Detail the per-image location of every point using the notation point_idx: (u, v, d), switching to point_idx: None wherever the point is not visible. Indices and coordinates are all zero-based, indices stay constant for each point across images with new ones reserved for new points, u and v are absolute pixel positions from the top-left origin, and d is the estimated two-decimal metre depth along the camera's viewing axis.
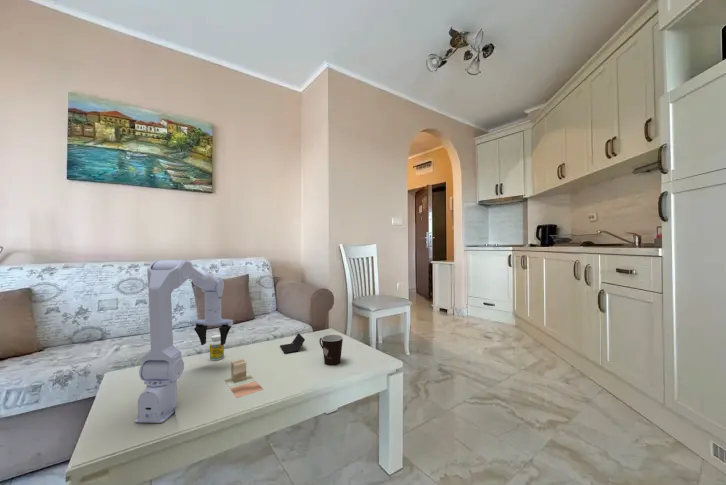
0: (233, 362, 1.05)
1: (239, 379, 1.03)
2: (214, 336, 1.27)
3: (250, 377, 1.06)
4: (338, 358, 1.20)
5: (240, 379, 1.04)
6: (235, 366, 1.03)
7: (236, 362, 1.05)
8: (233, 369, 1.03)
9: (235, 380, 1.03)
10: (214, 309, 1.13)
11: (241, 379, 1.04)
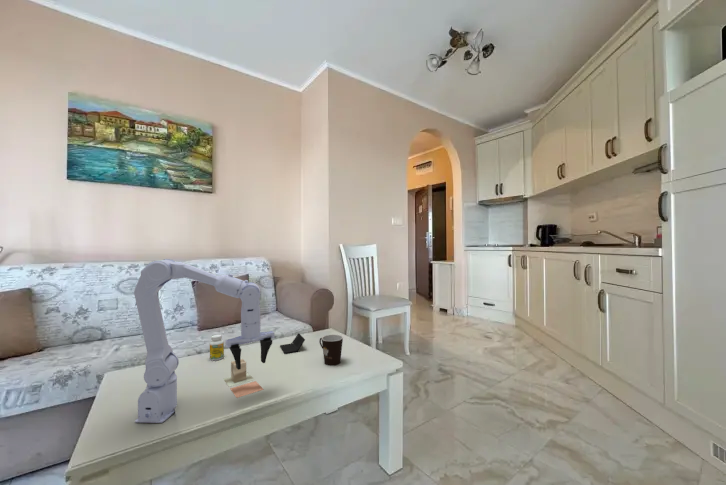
0: (233, 362, 1.05)
1: (239, 379, 1.03)
2: (214, 336, 1.27)
3: (250, 377, 1.06)
4: (338, 358, 1.20)
5: (240, 379, 1.04)
6: (235, 366, 1.03)
7: None
8: (233, 369, 1.03)
9: (235, 380, 1.03)
10: (242, 323, 0.92)
11: (241, 379, 1.04)
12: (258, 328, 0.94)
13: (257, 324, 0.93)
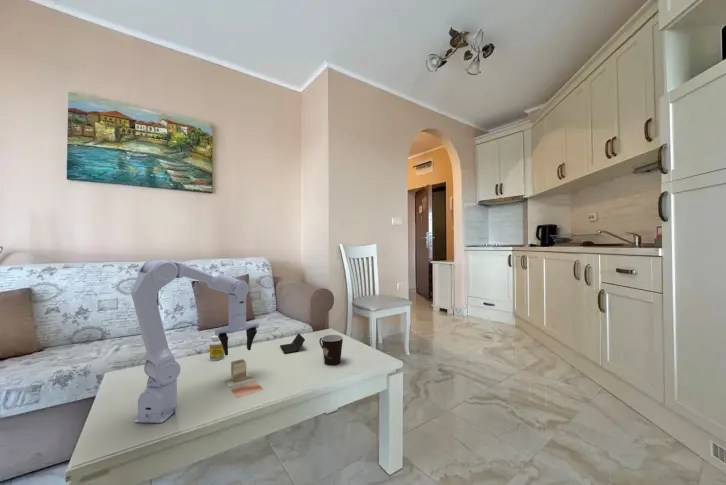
0: (233, 362, 1.05)
1: (239, 379, 1.03)
2: (214, 336, 1.27)
3: (250, 377, 1.06)
4: (338, 358, 1.20)
5: (240, 379, 1.04)
6: (235, 366, 1.03)
7: (236, 362, 1.05)
8: (233, 369, 1.03)
9: (235, 380, 1.03)
10: (234, 314, 1.03)
11: (241, 379, 1.04)
12: (244, 318, 1.05)
13: (243, 315, 1.05)
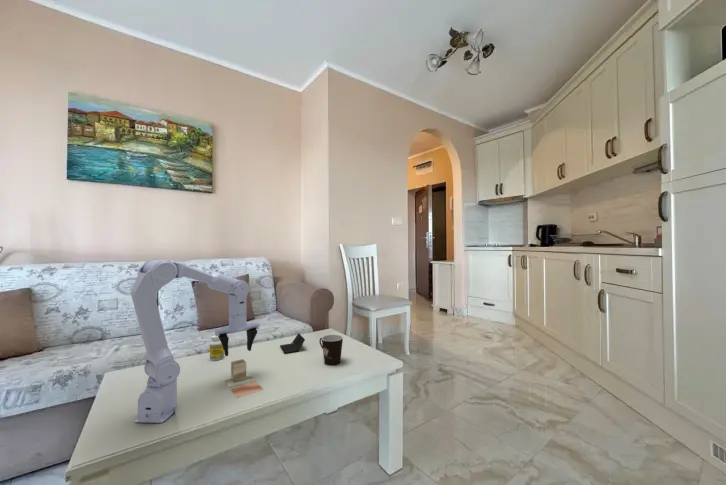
0: (233, 362, 1.05)
1: (239, 379, 1.03)
2: (214, 336, 1.27)
3: (250, 377, 1.06)
4: (338, 358, 1.20)
5: (240, 379, 1.04)
6: (235, 366, 1.03)
7: (236, 362, 1.05)
8: (233, 369, 1.03)
9: (235, 380, 1.03)
10: (234, 315, 1.03)
11: (241, 379, 1.04)
12: (244, 319, 1.05)
13: (243, 315, 1.04)
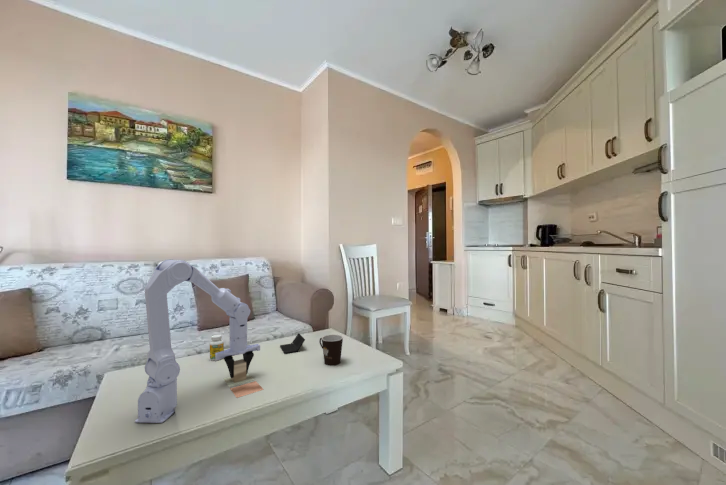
0: None
1: (239, 379, 1.03)
2: (214, 336, 1.27)
3: (250, 377, 1.06)
4: (338, 358, 1.20)
5: (240, 379, 1.04)
6: (235, 366, 1.03)
7: (236, 362, 1.05)
8: (233, 369, 1.03)
9: (235, 380, 1.03)
10: (234, 338, 1.02)
11: (241, 379, 1.04)
12: (245, 341, 1.04)
13: (244, 338, 1.04)
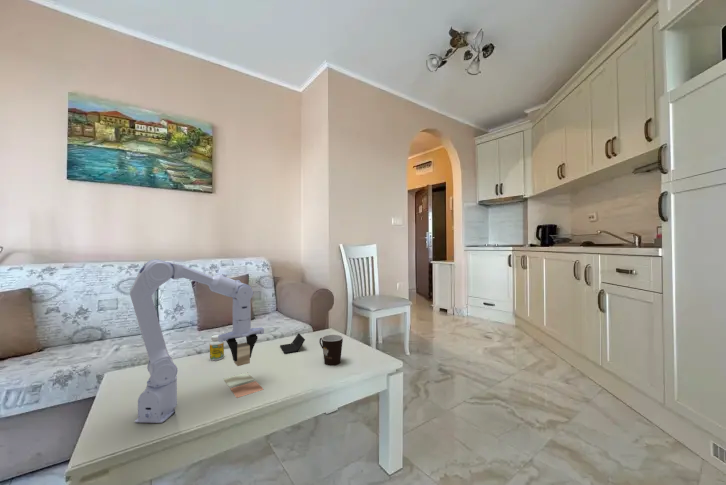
0: None
1: (242, 362, 1.00)
2: (214, 336, 1.27)
3: (250, 377, 1.06)
4: (338, 358, 1.20)
5: (243, 362, 1.00)
6: (238, 349, 0.99)
7: (239, 345, 1.02)
8: None
9: (238, 363, 0.99)
10: (236, 320, 0.99)
11: (244, 362, 1.01)
12: (249, 324, 1.01)
13: (247, 320, 1.01)
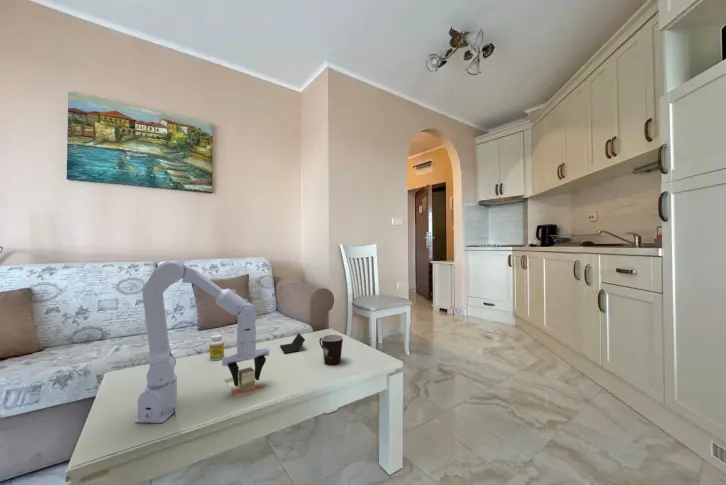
0: (241, 370, 0.98)
1: (247, 389, 0.96)
2: (214, 336, 1.27)
3: None
4: (338, 358, 1.20)
5: (248, 389, 0.97)
6: (243, 375, 0.96)
7: (244, 370, 0.98)
8: (241, 378, 0.96)
9: (243, 390, 0.96)
10: (239, 342, 0.95)
11: (249, 389, 0.97)
12: (254, 346, 0.97)
13: (252, 343, 0.97)
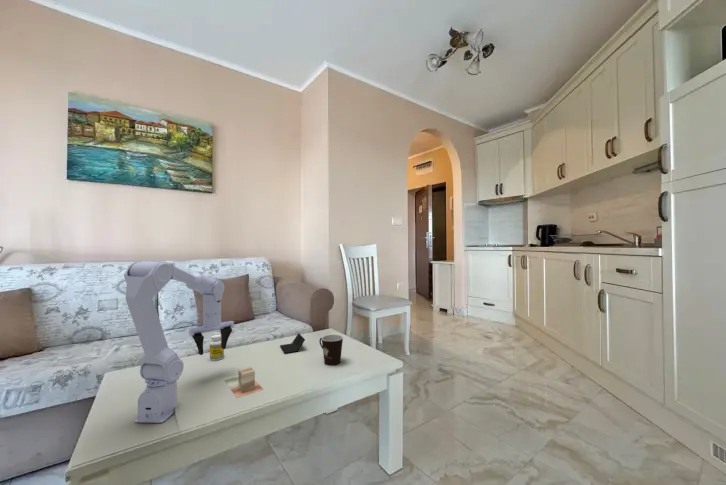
0: (241, 370, 0.98)
1: (247, 389, 0.96)
2: (214, 336, 1.27)
3: None
4: (338, 358, 1.20)
5: (248, 389, 0.97)
6: (243, 375, 0.96)
7: (244, 370, 0.98)
8: (241, 378, 0.96)
9: (243, 390, 0.96)
10: (211, 313, 1.04)
11: (249, 389, 0.97)
12: (219, 317, 1.07)
13: (218, 314, 1.06)
